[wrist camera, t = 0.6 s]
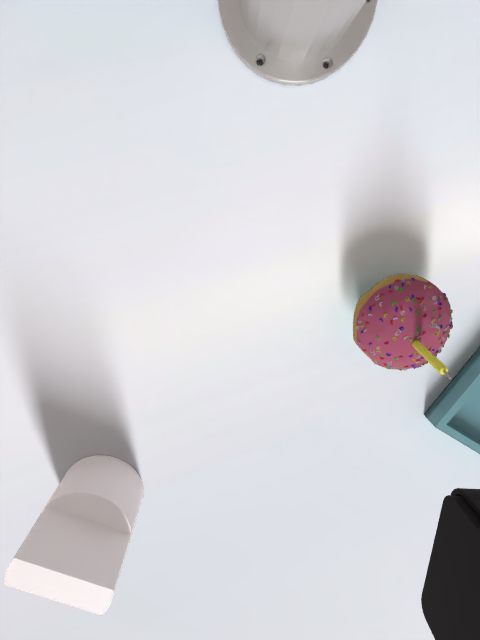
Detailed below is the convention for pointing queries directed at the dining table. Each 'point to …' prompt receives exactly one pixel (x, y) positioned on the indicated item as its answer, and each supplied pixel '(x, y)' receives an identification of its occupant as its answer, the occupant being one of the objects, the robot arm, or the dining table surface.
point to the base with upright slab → (81, 536)
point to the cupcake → (403, 323)
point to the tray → (460, 406)
